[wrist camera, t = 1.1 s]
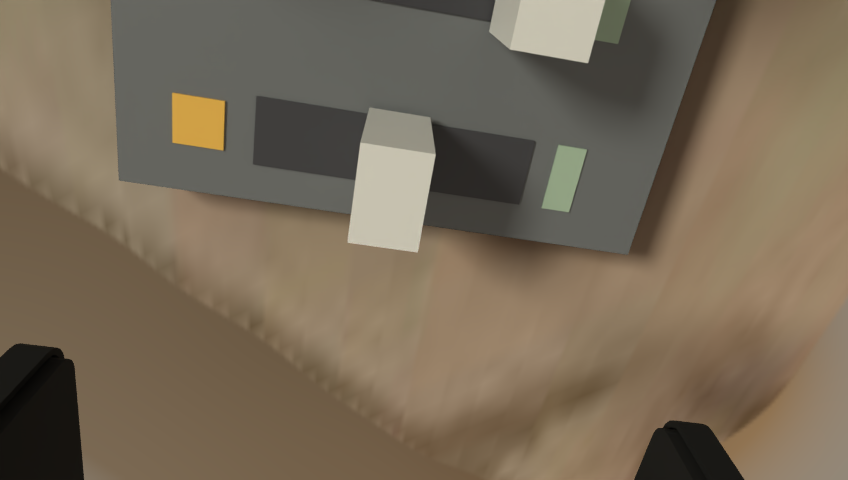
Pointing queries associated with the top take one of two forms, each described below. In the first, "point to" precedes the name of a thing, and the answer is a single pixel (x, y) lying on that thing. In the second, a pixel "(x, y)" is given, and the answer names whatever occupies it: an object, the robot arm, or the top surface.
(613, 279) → the top surface
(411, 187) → the block
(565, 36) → the block
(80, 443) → the robot arm
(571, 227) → the breaker panel
